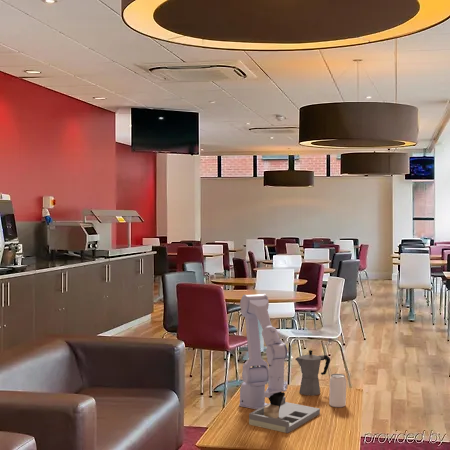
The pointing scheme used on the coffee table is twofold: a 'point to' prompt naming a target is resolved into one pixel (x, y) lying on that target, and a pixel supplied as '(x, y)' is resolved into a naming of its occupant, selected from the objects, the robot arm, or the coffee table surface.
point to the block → (271, 411)
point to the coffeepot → (311, 373)
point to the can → (337, 390)
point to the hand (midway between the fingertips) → (275, 412)
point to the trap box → (284, 417)
